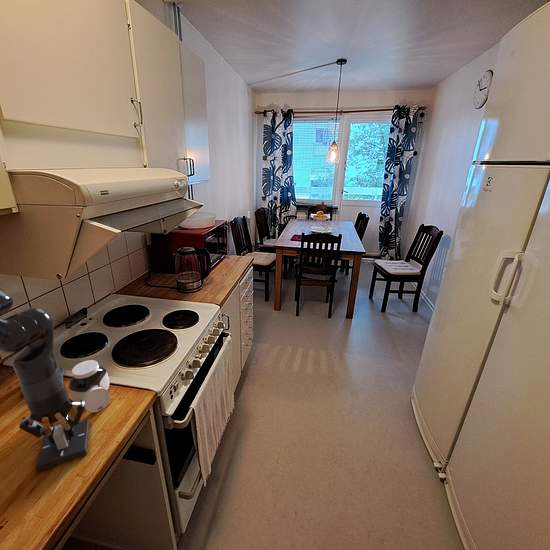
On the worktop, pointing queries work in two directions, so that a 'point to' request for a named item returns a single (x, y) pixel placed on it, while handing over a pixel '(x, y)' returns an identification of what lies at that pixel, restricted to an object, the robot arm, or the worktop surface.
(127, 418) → the worktop surface
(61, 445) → the knob
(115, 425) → the worktop surface
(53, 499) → the worktop surface
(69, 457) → the fryer panel
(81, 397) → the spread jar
